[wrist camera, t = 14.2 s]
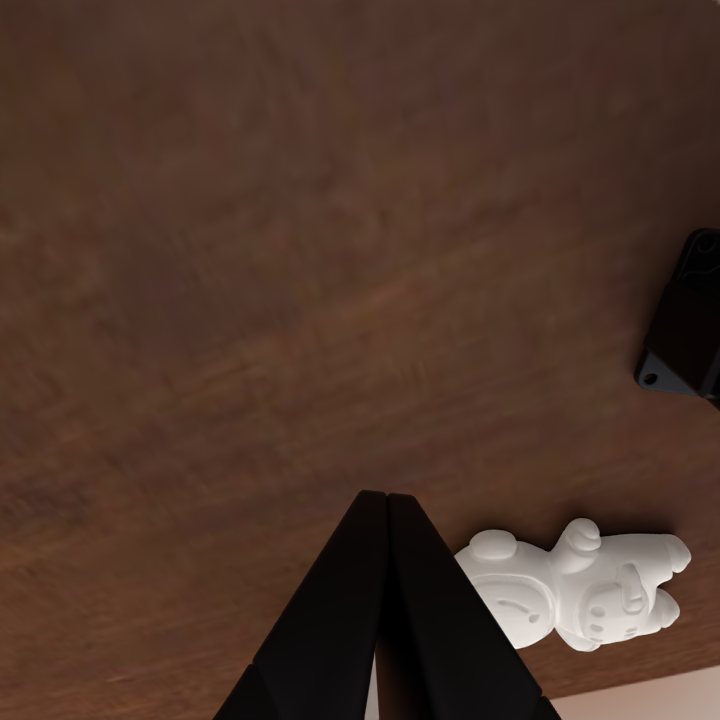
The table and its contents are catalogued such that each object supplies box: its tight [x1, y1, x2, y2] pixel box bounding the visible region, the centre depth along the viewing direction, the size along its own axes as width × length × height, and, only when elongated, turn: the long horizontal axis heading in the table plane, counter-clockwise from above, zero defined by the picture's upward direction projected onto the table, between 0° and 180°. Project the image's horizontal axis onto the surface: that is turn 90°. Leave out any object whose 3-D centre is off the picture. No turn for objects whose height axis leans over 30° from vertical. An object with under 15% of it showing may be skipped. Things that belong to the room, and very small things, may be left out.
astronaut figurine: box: [454, 518, 691, 651], centre depth 25 cm, size 9×12×3 cm
